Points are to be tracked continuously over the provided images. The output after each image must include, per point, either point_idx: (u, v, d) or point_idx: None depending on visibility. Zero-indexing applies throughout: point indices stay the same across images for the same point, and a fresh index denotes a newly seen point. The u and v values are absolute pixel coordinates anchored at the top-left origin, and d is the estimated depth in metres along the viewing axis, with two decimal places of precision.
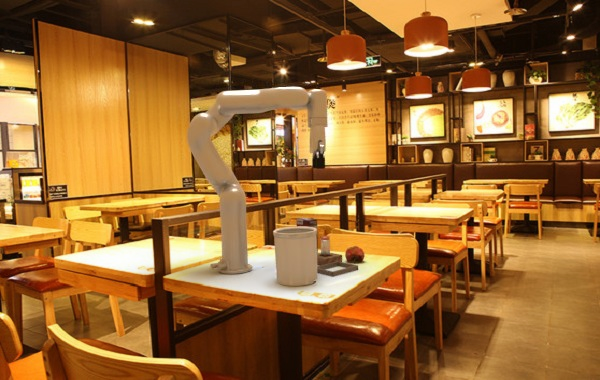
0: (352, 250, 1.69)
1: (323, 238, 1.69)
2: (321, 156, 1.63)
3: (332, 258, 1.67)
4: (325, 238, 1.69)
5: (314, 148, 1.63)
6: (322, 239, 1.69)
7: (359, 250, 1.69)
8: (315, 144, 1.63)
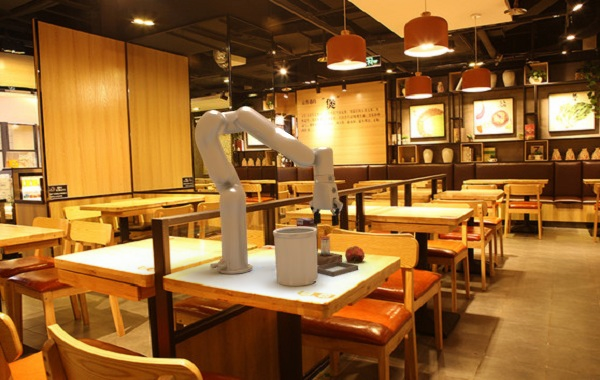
0: (352, 250, 1.69)
1: (323, 238, 1.69)
2: None
3: (332, 258, 1.67)
4: (325, 238, 1.69)
5: None
6: (322, 239, 1.69)
7: (359, 250, 1.69)
8: None
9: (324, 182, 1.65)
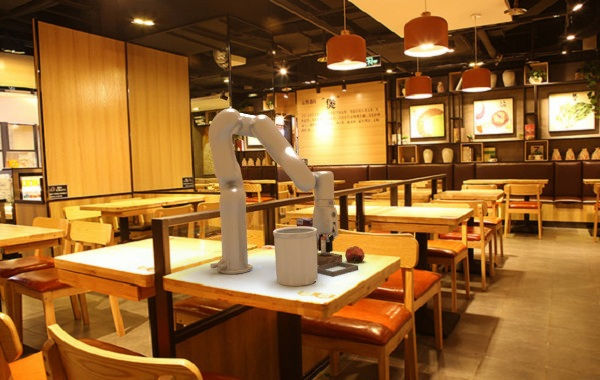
0: (352, 250, 1.69)
1: (323, 238, 1.69)
2: None
3: (332, 258, 1.67)
4: (325, 238, 1.69)
5: None
6: (322, 239, 1.69)
7: (359, 250, 1.69)
8: None
9: (324, 206, 1.66)
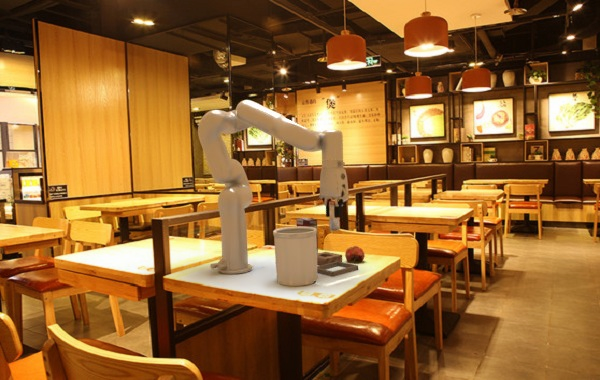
0: (352, 250, 1.69)
1: (331, 202, 1.57)
2: None
3: (332, 258, 1.67)
4: (334, 202, 1.56)
5: None
6: (330, 204, 1.57)
7: (359, 250, 1.69)
8: None
9: (333, 167, 1.53)
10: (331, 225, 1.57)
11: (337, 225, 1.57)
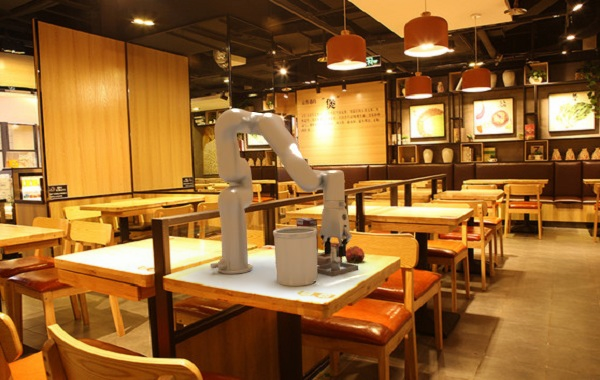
0: (352, 250, 1.69)
1: (333, 245, 1.57)
2: None
3: None
4: (335, 245, 1.57)
5: None
6: (332, 246, 1.57)
7: (359, 250, 1.69)
8: None
9: (334, 208, 1.54)
10: (332, 267, 1.58)
11: (338, 267, 1.58)
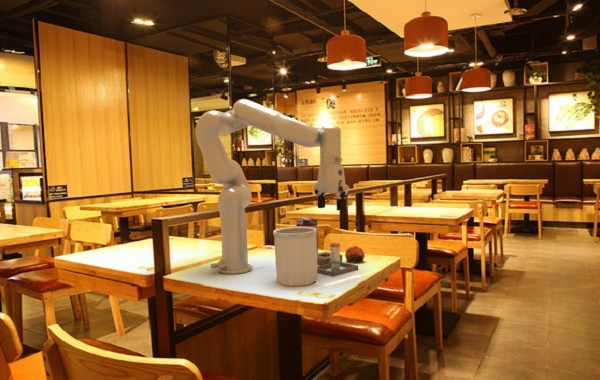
0: (352, 250, 1.69)
1: (333, 245, 1.57)
2: None
3: None
4: (335, 245, 1.57)
5: None
6: (332, 246, 1.57)
7: (359, 250, 1.69)
8: None
9: (330, 163, 1.55)
10: (332, 267, 1.58)
11: (338, 267, 1.58)
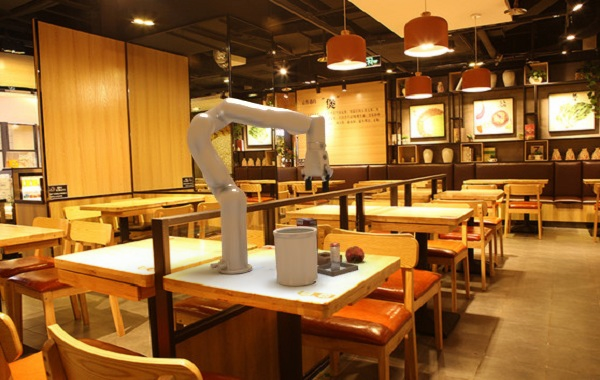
0: (352, 250, 1.69)
1: (333, 245, 1.57)
2: None
3: None
4: (335, 245, 1.57)
5: None
6: (332, 246, 1.57)
7: (359, 250, 1.69)
8: None
9: (315, 149, 1.70)
10: (332, 267, 1.58)
11: (338, 267, 1.58)
